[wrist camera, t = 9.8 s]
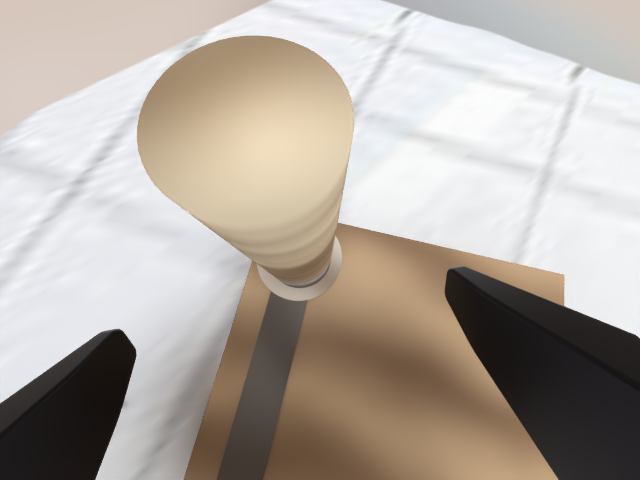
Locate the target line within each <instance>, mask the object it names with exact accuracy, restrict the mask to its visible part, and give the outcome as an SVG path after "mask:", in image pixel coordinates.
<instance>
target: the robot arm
mask: <svg viewBox="0 0 640 480" xmlns="http://www.w3.org/2000/svg"><path fill="white" fill-rule="evenodd" d="M444 292H445V297H446V300H447V302H448V304H449V306H450V307H451V309H452V311H453V313H454V315H455V317H456V319H457V321H458V323H459V325H460V327H461V329H462V331H463V332H464V334H465V336H466V338H467V340H468V342H469V344H470V346H471V347H472V349H473V351H474V352H475V354H476V355H477V357H478V358H479V360H480V361H481V363H482V365H483V366H484V368H485V369H486V371H487V372H488V374H489V375H490V377H491V378H492V380H493V381H494V383H495V384H496V386H497V387H498V389H499V390H500V392H501V393H502V395H503V396H504V398H505V399H506V401H507V402H508V404H509V406H510V407H511V409H512V410H513V412H514V413H515V415H516V416H517V418H518V419H519V421H520V422H521V424H522V425H523V427H524V428H525V430H526V431H527V433H528V434H529V436H530V437H531V439H532V440H533V442H534V443H535V445H536V447H537V448H538V450H539V451H540V453H541V454H542V456H543V457H544V459H545V460H546V462H547V463H548V465H549V466H550V468H551V469H552V471H553V472H554V474H555V475H556V477H557V478H558V480H640V338H639V337H638V336H636V335H634V334H632V333H629V332H627V331H624V330H622V329H619V328H617V327H614V326H612V325H609V324H607V323H604V322H602V321H599V320H597V319H594V318H592V317H589V316H587V315H585V314H582V313H580V312H577V311H575V310H572V309H570V308H567V307H565V306H562V305H560V304H557V303H555V302H552V301H550V300H547V299H545V298H542V297H540V296H537V295H535V294H532V293H530V292H527V291H525V290H522V289H520V288H518V287H515V286H513V285H510V284H508V283H505V282H503V281H500V280H498V279H495V278H493V277H490V276H488V275H485V274H483V273H480V272H478V271H475V270H473V269H470V268H468V267H465V266H458V267H453V268H450V269H448V271H447V274H446V282H445V290H444ZM135 360H136V349H135V347H134V346H133V344H132V343H131V341H130V340H129V339H128V337H127V336H126V334H125V333H124V332H123V331H122V330H120V329H113V330H107V331H103V332H101V333H99V334H98V335H96V336H95V337H93V338H92V339H91V340H89V341H88V342H86V343H85V344H84V345H82V346H81V347H79V348H78V349H76V350H75V351H74V352H72V353H71V354H69V355H68V356H67V357H65V358H64V359H62V360H61V361H60V362H58V363H57V364H55V365H54V366H53V367H51V368H50V369H48V370H47V371H45V372H44V373H43V374H41V375H40V376H38V377H37V378H36V379H34V380H33V381H31V382H30V383H29V384H27V385H26V386H24V387H23V388H22V389H20V390H19V391H17V392H16V393H15V394H13V395H12V396H10V397H9V398H7V399H6V400H5V401H3V402H2V403H0V480H95V479H96V476H97V473H98V471H99V468H100V466H101V463H102V460H103V458H104V455H105V453H106V450H107V447H108V445H109V442H110V440H111V437H112V434H113V432H114V429H115V427H116V424H117V421H118V418H119V415H120V412H121V409H122V406H123V402H124V399H125V395H126V391H127V388H128V384H129V381H130V377H131V374H132V370H133V367H134V363H135Z"/></svg>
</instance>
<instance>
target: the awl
mask: <svg viewBox="0 0 640 480" xmlns="http://www.w3.org/2000/svg"><path fill="white" fill-rule="evenodd" d="M353 131H354V110H353V106H352V101H351V98H350V95H349V92H348V90H347V87H346V86H345V84H344V82H343V80H342V78H341V77H340V76H339V75H338V73H337V72H336V71H335V69H334V68H333V67H332V66H331V65H330V64H329V63H328V62H327V61H326V60H324V59H323V58H322V57H320V56H319V55H318V54H316V53H315V52H313V51H311V50H309V49H308V48H306V47H304V46H301V45H299V44H297V43H294V42H291V41H288V40H284V39H280V38H275V37H268V36H240V37H232V38H228V39H223V40H219V41H216V42H213V43H210V44H207V45H205V46H202V47H200V48H198V49H196V50H194V51H192V52H190V53H189V54H187V55H185V56H184V57H182V58H181V59H180V60H178V61H177V62H175V63H174V64H173V65H172V66H171V67H170V68H168V69H167V70H166V71H165V72H164V73H163V74H162V76H161V77H160V78H159V79H158V80H157V81H156V83H155V84H154V86H153V87H152V89H151V90H150V91H149V93H148V95H147V97H146V99H145V101H144V104H143V106H142V109H141V112H140V116H139V121H138V126H137V142H138V151H139V154H140V158H141V161H142V164H143V166H144V168H145V170H146V172H147V174H148V176H149V177H150V179H151V180H152V181H153V183H154V184H155V186H156V187H157V188H158V189H159V190H160V191H161V192H162V193H163V194H164V195H165V196H167V197H168V198H169V199H171V200H172V201H173V202H174V203H176V204H177V205H178V206H180V207H181V208H182V209H184V210H185V211H187V212H188V213H189V214H191V215H192V216H193V217H195V218H196V219H197V220H199V221H200V222H201V223H203V224H204V225H205V226H207V227H208V228H209V229H211V230H212V231H213V232H215V233H216V234H217V235H219V236H220V237H221V238H223V239H224V240H226V241H227V242H228V243H230V244H231V245H232V246H234V247H235V248H236V249H238V250H239V251H240V252H242V253H243V254H244V255H246V256H247V257H248V258H250V259H251V260H252V261H254V262H255V263H256V264H258V265H259V266H261V267H262V268H263V269H265V270H266V271H267V272H269V273H270V274H271V275H273V276H274V277H275V278H277V279H278V280H279V281H281V282H282V283H284V284H285V285H287V286H290V287H294V288H306V287H310V286H312V285H314V284H316V283H318V282H319V281H320V280H321V279H322V278H323V277H324V276H325V275H326V273H327V271H328V269H329V267H330V263H331V257H332V251H333V246H334V240H335V234H336V229H337V223H338V217H339V212H340V206H341V200H342V195H343V189H344V183H345V178H346V172H347V166H348V161H349V155H350V150H351V144H352V138H353Z"/></svg>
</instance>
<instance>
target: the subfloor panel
mask: <svg viewBox="0 0 640 480" xmlns="http://www.w3.org/2000/svg"><path fill="white" fill-rule="evenodd" d="M458 266H465V267H468V268H470V269H473V270H475V271H478V272H480V273H483V274H485V275H488V276H490V277H493V278H495V279H498V280H500V281H503V282H505V283H508V284H510V285H513V286H515V287H518V288H520V289H522V290H525V291H527V292H530V293H532V294H535V295H537V296H540V297H542V298H545V299H547V300H550V301H552V302H555V303H557V304H560V305H562V306H564V275H563V274H558V273H554V272H550V271H545V270H541V269H537V268H532V267H528V266H523V265H519V264H515V263H510V262H506V261H502V260H497V259H493V258H489V257H484V256H480V255H476V254H471V253H467V252H463V251H458V250H454V249H449V248H445V247H441V246H436V245H432V244H428V243H423V242H419V241H415V240H410V239H406V238H402V237H397V236H393V235H388V234H384V233H380V232H375V231H371V230H367V229H362V228H358V227H354V226H349V225H345V224H341V223H337V229H336V234H335V240H334V246H333V251H332V257H331V263H330V267H329V269H328V271H327V273H326V275H325V276H324V277H323V278H322V279H321V280H320V281H319V282H318V283H316V284H314V285H312V286H310V287H306V288H294V287H290V286H287V285H285V284H284V283H282V282H281V281H279V280H278V279H277V278H275V277H274V276H273V275H271V274H270V273H269V272H267V271H266V270H265V269H263V268H262V267H261V266H259V265H258V264H256V263H255V262H254V261H252V264H251V267H250V270H249V274H248V277H247V280H246V283H245V286H244V289H243V293H242V296H241V299H240V302H239V305H238V309H237V312H236V315H235V318H234V321H233V324H232V328H231V331H230V334H229V337H228V340H227V343H226V347H225V350H224V353H223V356H222V359H221V362H220V366H219V369H218V372H217V375H216V378H215V382H214V385H213V388H212V391H211V394H210V397H209V401H208V404H207V407H206V410H205V413H204V416H203V420H202V423H201V426H200V429H199V432H198V435H197V439H196V442H195V445H194V448H193V451H192V455H191V458H190V461H189V464H188V467H187V470H186V474H185V477H184V480H558V478H557V477H556V475H555V474H554V472H553V471H552V469H551V468H550V466H549V465H548V463H547V462H546V460H545V459H544V457H543V456H542V454H541V453H540V451H539V450H538V448H537V447H536V445H535V443H534V442H533V440H532V439H531V437H530V436H529V434H528V433H527V431H526V430H525V428H524V427H523V425H522V424H521V422H520V421H519V419H518V418H517V416H516V415H515V413H514V412H513V410H512V409H511V407H510V406H509V404H508V402H507V401H506V399H505V398H504V396H503V395H502V393H501V392H500V390H499V389H498V387H497V386H496V384H495V383H494V381H493V380H492V378H491V377H490V375H489V374H488V372H487V371H486V369H485V368H484V366H483V365H482V363H481V361H480V360H479V358H478V357H477V355H476V354H475V352H474V351H473V349H472V347H471V346H470V344H469V342H468V340H467V338H466V336H465V334H464V332H463V331H462V329H461V327H460V325H459V323H458V321H457V319H456V317H455V315H454V313H453V311H452V309H451V307H450V306H449V304H448V302H447V300H446V297H445V292H444V290H445V282H446V274H447V271H448V269H450V268H453V267H458Z"/></svg>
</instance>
